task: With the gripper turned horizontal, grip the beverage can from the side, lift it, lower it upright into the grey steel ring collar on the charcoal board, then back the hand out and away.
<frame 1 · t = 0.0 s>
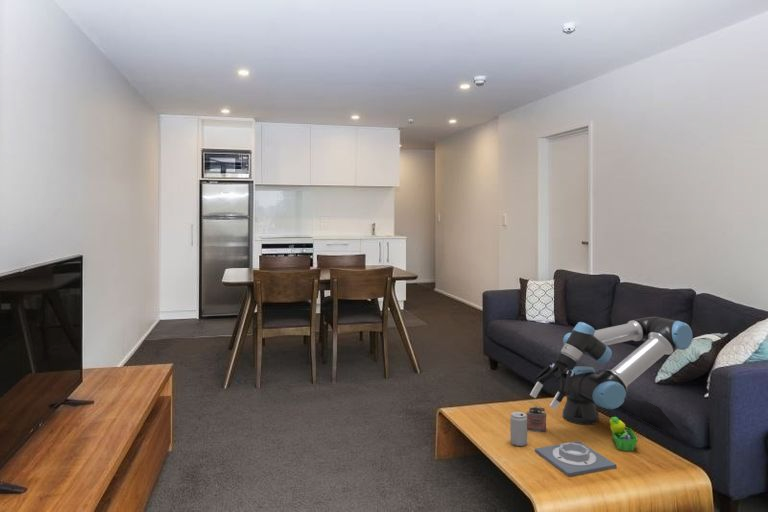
hand: (542, 402, 195), 15 cm above the table, tool tilted 35°, fingers open, 13 cm apart
beverage can: (518, 444, 192), on the table
fruit basket: (621, 446, 189), on the table
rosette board: (574, 459, 178), on the table
brown piece: (536, 430, 205), on the table
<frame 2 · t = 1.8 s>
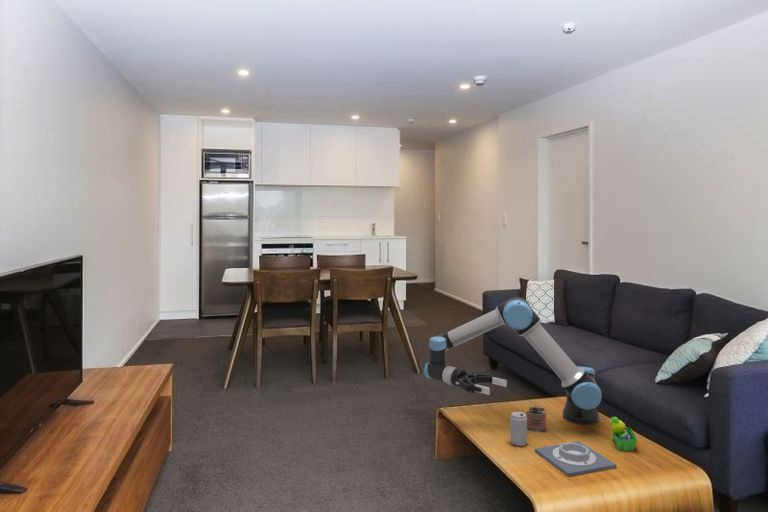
hand: (498, 387, 198), 21 cm above the table, tool horizontal, fingers open, 13 cm apart
nothing on the table moved.
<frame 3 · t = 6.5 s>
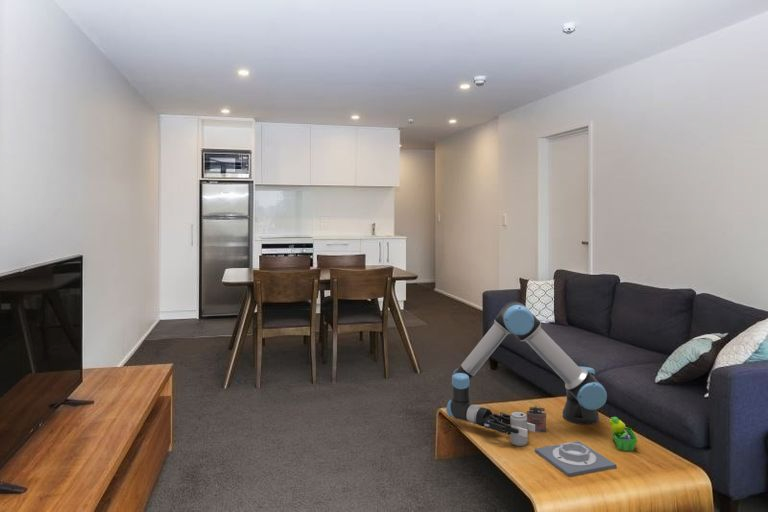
hand: (530, 430, 189), 7 cm above the table, tool horizontal, fingers closed on beverage can, 6 cm apart
beverage can: (518, 444, 192), on the table, touching gripper
everything else where it was.
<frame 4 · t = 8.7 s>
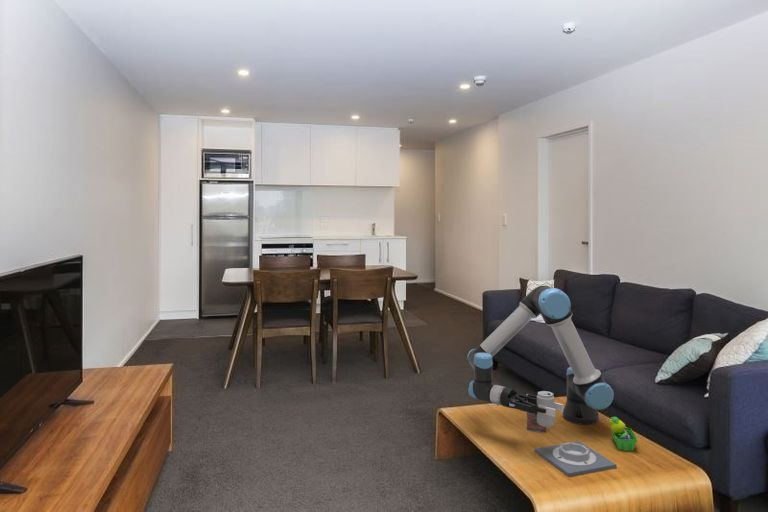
hand: (558, 410, 179), 18 cm above the table, tool horizontal, fingers closed on beverage can, 6 cm apart
beverage can: (545, 424, 183), point 11 cm above the table, touching gripper
everything else where it was.
when the fingers open (9 cm above the table, at t = 11.3 s): beverage can drops 1 cm, resting on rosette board.
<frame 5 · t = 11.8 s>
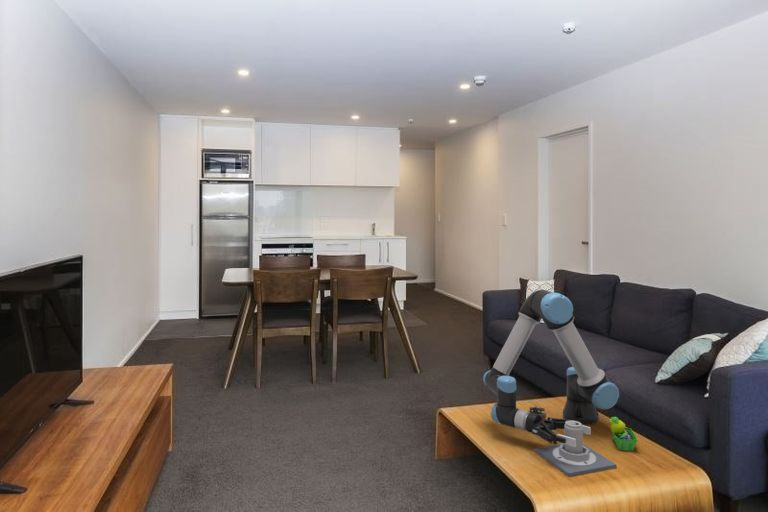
hand: (583, 436, 176), 9 cm above the table, tool horizontal, fingers open, 13 cm apart
beverage can: (573, 455, 179), point 1 cm above the table, touching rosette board
everything else where it was.
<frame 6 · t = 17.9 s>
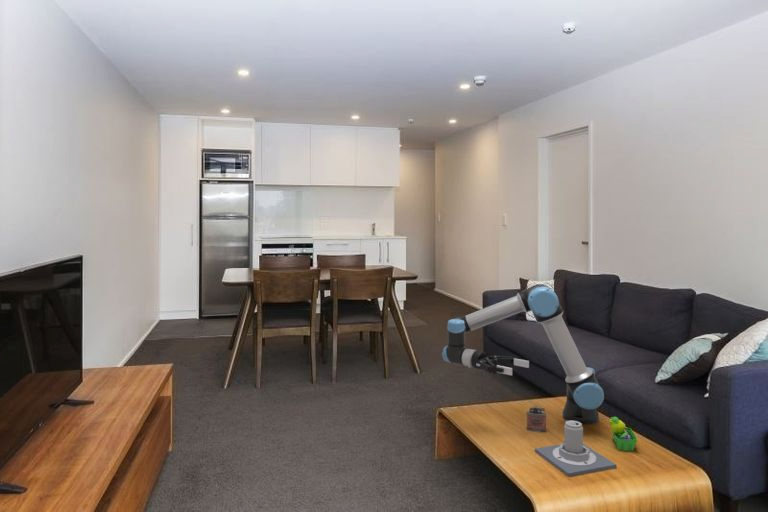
hand: (520, 368, 192), 30 cm above the table, tool horizontal, fingers open, 13 cm apart
nothing on the table moved.
at the end: beverage can 0.2 cm off-centre on the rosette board, point 1.4 cm above the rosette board's base; beverage can tilted 0°; the gripper is holding nothing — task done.
